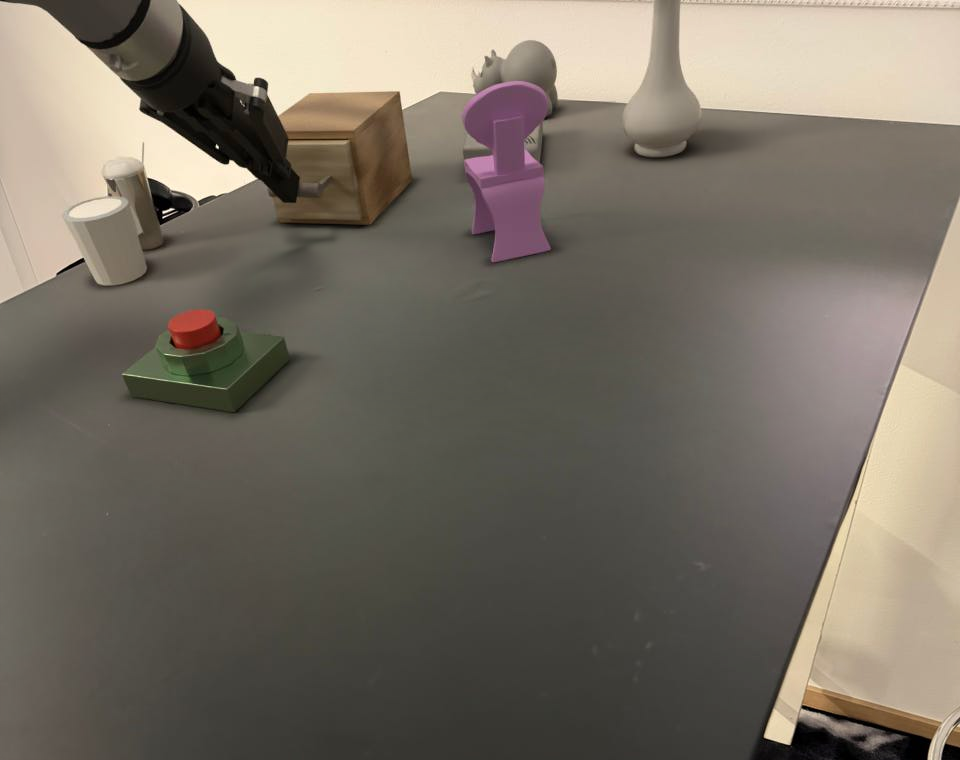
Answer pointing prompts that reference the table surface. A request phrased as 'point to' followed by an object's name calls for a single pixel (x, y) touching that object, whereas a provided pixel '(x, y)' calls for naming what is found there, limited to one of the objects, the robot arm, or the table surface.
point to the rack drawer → (322, 181)
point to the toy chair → (507, 167)
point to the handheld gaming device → (479, 150)
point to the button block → (208, 369)
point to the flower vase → (662, 92)
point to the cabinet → (358, 142)
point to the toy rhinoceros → (521, 69)
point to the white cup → (107, 239)
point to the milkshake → (135, 196)
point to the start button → (194, 329)
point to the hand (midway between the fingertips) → (291, 190)
